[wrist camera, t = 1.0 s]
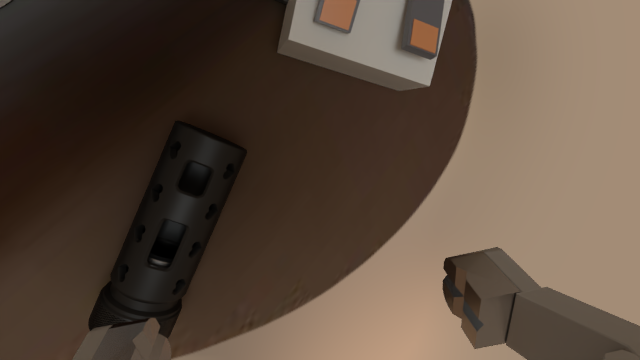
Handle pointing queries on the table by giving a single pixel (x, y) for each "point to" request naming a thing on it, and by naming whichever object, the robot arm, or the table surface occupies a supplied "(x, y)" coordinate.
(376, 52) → the switch box
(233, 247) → the table surface
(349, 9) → the block
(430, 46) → the block
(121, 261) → the muzzle brake
